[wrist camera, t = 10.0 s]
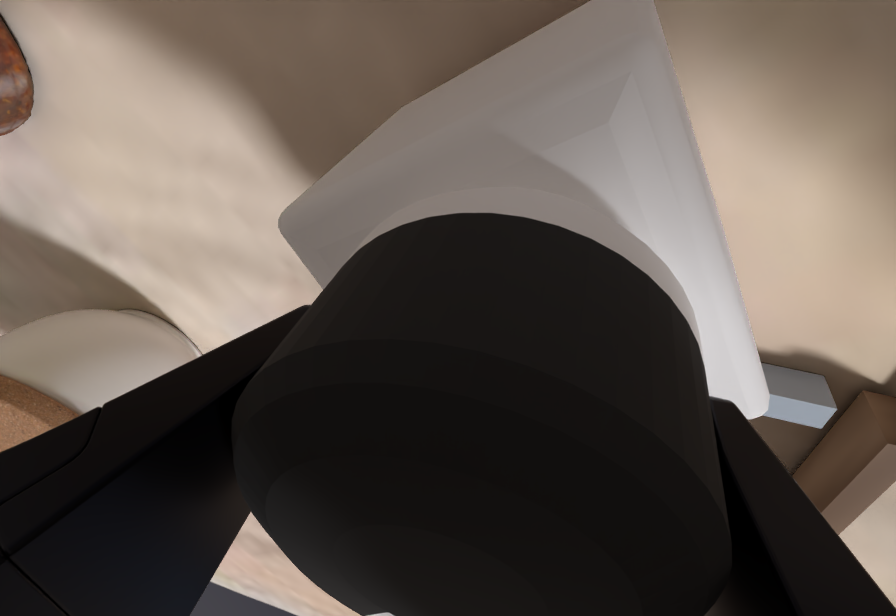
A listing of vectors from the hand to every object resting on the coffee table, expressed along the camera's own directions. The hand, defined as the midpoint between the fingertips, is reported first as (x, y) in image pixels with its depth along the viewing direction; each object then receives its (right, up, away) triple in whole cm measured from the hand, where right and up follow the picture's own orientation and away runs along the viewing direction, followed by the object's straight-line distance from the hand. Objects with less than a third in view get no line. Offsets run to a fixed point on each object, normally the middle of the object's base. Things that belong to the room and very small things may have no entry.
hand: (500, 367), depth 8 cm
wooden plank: (+13, -7, +13) cm, 20 cm away
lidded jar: (-16, -1, +19) cm, 25 cm away
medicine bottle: (+2, +5, +6) cm, 9 cm away
